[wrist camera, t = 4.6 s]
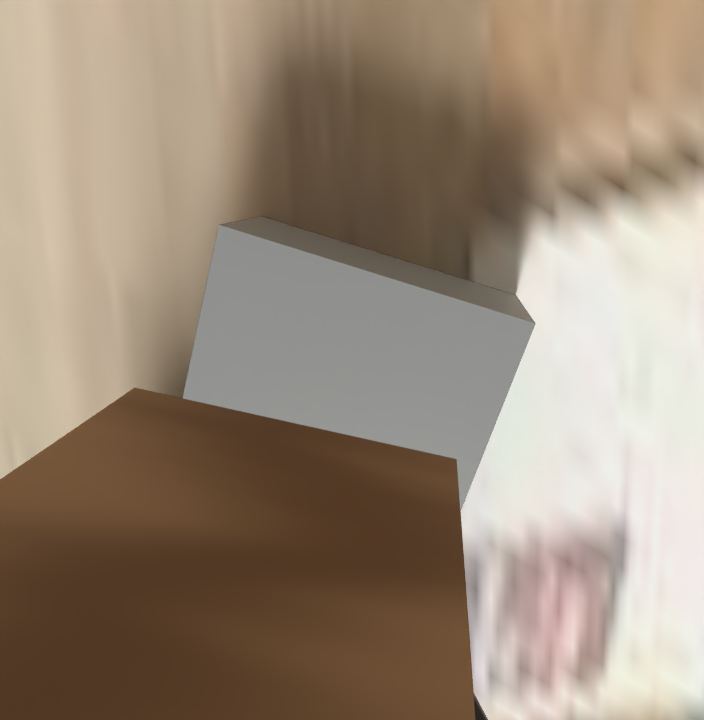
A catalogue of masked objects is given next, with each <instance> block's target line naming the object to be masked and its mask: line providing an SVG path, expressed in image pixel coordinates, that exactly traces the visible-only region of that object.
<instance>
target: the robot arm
mask: <svg viewBox="0 0 704 720" xmlns="http://www.w3.org/2000/svg"><path fill="white" fill-rule="evenodd" d="M473 694H474V693H473ZM474 708H475V720H488V719H487V717H486V715H485V713H484V711H483V710H482V708H481V706H480V704H479V702H478V700H477V698H476V696H475V695H474Z"/></svg>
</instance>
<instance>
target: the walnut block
mask: <svg viewBox="0 0 704 720" xmlns="http://www.w3.org/2000/svg"><path fill="white" fill-rule="evenodd" d="M0 720H475V708H474V694H473V680H472V666H471V652H470V638H469V624H468V610H467V596H466V582H465V568H464V554H463V541H462V527H461V513H460V499H459V485H458V471H457V459H454V458H450V457H445V456H441V455H436V454H432V453H427V452H423V451H418V450H414V449H409V448H405V447H400V446H395V445H391V444H386V443H382V442H377V441H373V440H368V439H364V438H359V437H355V436H350V435H346V434H341V433H337V432H332V431H328V430H323V429H319V428H314V427H310V426H305V425H301V424H296V423H292V422H287V421H283V420H278V419H274V418H269V417H265V416H260V415H256V414H251V413H246V412H242V411H237V410H233V409H228V408H224V407H219V406H215V405H210V404H206V403H201V402H197V401H192V400H188V399H183V398H179V397H174V396H170V395H165V394H161V393H156V392H152V391H147V390H143V389H138V388H134V389H132V390H131V391H129V392H128V393H126V394H125V395H123V396H122V397H121V398H119V399H118V400H116V401H115V402H113V403H112V404H110V405H109V406H107V407H106V408H104V409H103V410H101V411H100V412H99V413H97V414H96V415H94V416H93V417H91V418H90V419H88V420H87V421H85V422H84V423H82V424H81V425H79V426H78V427H77V428H75V429H74V430H72V431H71V432H69V433H68V434H66V435H65V436H63V437H62V438H60V439H59V440H57V441H56V442H55V443H53V444H52V445H50V446H49V447H47V448H46V449H44V450H43V451H41V452H40V453H38V454H37V455H35V456H34V457H33V458H31V459H30V460H28V461H27V462H25V463H24V464H22V465H21V466H19V467H18V468H16V469H15V470H13V471H12V472H11V473H9V474H8V475H6V476H5V477H3V478H2V479H0Z"/></svg>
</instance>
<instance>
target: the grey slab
mask: <svg viewBox="0 0 704 720" xmlns="http://www.w3.org/2000/svg"><path fill="white" fill-rule="evenodd" d="M534 326H535V322H534V321H533V319H532V318H531V316H530V315H529V313H528V312H527V311H526V309H525V308H524V306H523V305H522V303H521V302H520V300H519V299H518V297H517V296H516V295H514V294H510V293H507V292H504V291H501V290H498V289H494V288H491V287H488V286H485V285H481V284H478V283H475V282H472V281H468V280H465V279H462V278H459V277H456V276H452V275H449V274H446V273H443V272H439V271H436V270H433V269H430V268H427V267H423V266H420V265H417V264H414V263H410V262H407V261H404V260H401V259H398V258H394V257H391V256H388V255H385V254H381V253H378V252H375V251H372V250H369V249H365V248H362V247H359V246H356V245H352V244H349V243H346V242H343V241H339V240H336V239H333V238H330V237H327V236H323V235H320V234H317V233H314V232H310V231H307V230H304V229H301V228H298V227H294V226H291V225H288V224H285V223H281V222H278V221H275V220H272V219H269V218H265V217H262V216H261V217H256V218H251V219H246V220H241V221H236V222H231V223H226V224H221V225H219V227H218V231H217V236H216V241H215V246H214V250H213V255H212V260H211V265H210V270H209V274H208V279H207V284H206V289H205V293H204V298H203V303H202V308H201V312H200V317H199V322H198V327H197V331H196V336H195V341H194V346H193V350H192V355H191V360H190V365H189V370H188V374H187V379H186V384H185V389H184V393H183V399H188V400H192V401H197V402H201V403H206V404H210V405H215V406H219V407H224V408H228V409H233V410H237V411H242V412H246V413H251V414H256V415H260V416H265V417H269V418H274V419H278V420H283V421H287V422H292V423H296V424H301V425H305V426H310V427H314V428H319V429H323V430H328V431H332V432H337V433H341V434H346V435H350V436H355V437H359V438H364V439H368V440H373V441H377V442H382V443H386V444H391V445H395V446H400V447H405V448H409V449H414V450H418V451H423V452H427V453H432V454H436V455H441V456H445V457H450V458H454V459H457V471H458V485H459V499H460V511H461V508H462V506H463V503H464V501H465V498H466V496H467V493H468V491H469V488H470V486H471V483H472V481H473V478H474V476H475V473H476V471H477V468H478V466H479V463H480V461H481V458H482V456H483V453H484V451H485V448H486V446H487V443H488V441H489V438H490V436H491V433H492V431H493V428H494V426H495V423H496V421H497V418H498V416H499V413H500V411H501V408H502V406H503V403H504V401H505V398H506V396H507V393H508V391H509V388H510V386H511V383H512V381H513V378H514V376H515V373H516V371H517V368H518V366H519V363H520V361H521V358H522V356H523V353H524V351H525V348H526V346H527V343H528V341H529V338H530V336H531V333H532V331H533V328H534Z"/></svg>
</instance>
